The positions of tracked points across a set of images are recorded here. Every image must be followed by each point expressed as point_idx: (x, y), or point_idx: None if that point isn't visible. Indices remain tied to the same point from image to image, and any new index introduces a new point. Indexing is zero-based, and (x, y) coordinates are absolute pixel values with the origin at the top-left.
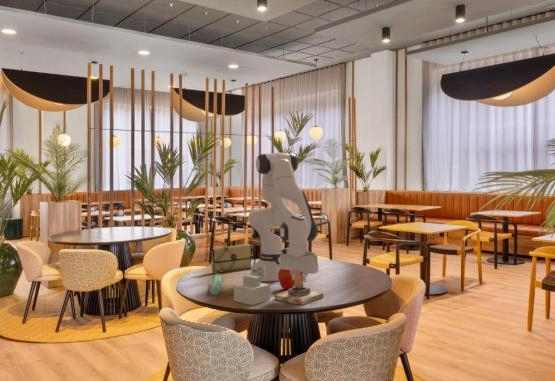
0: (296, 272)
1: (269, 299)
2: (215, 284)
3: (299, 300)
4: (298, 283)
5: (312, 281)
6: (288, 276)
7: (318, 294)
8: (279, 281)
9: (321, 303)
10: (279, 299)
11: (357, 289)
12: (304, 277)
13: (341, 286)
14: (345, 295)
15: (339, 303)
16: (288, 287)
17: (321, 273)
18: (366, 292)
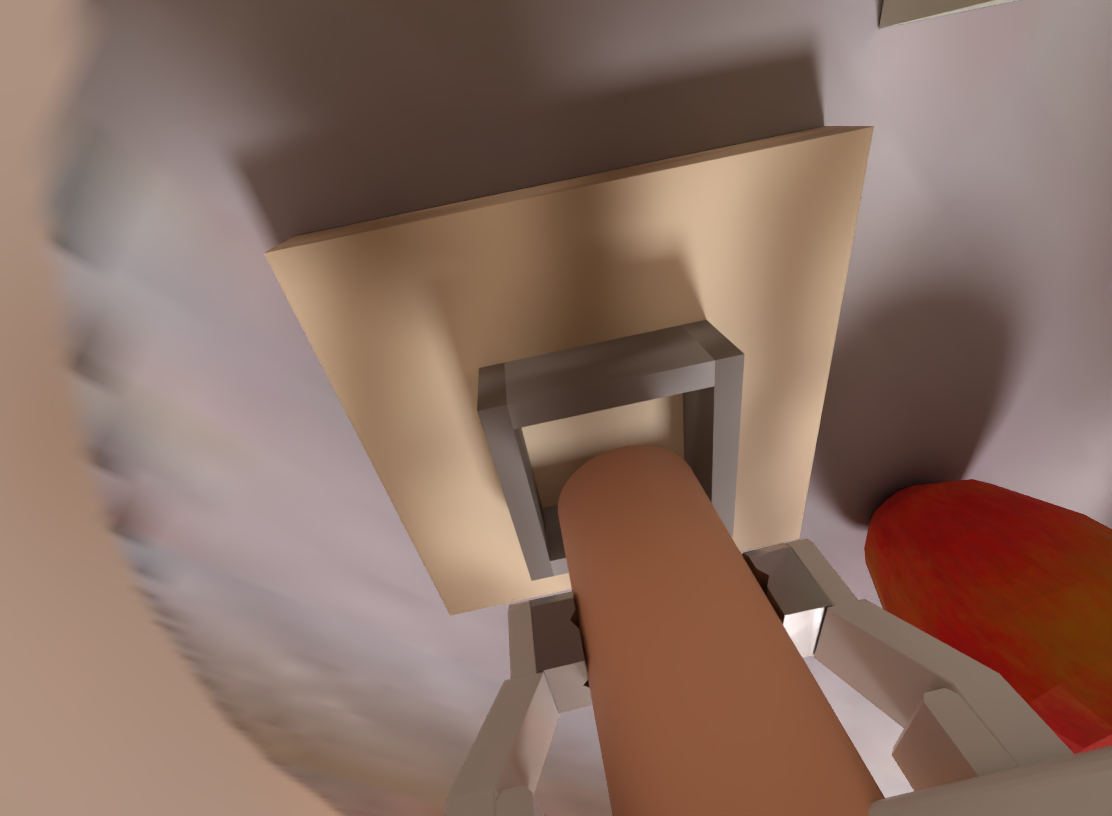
0: (735, 767)
1: (886, 14)
2: None
3: (329, 237)
4: (597, 518)
5: (840, 703)
6: (1004, 617)
7: (439, 568)
8: (1066, 509)
9: (256, 462)
10: (737, 145)
11: None
12: (499, 704)
13: None
14: (401, 698)
15: (173, 577)
16: (894, 509)
17: (883, 778)
18: (388, 785)
